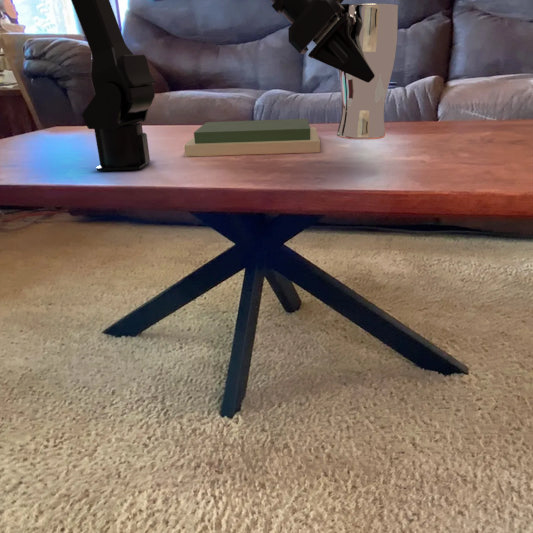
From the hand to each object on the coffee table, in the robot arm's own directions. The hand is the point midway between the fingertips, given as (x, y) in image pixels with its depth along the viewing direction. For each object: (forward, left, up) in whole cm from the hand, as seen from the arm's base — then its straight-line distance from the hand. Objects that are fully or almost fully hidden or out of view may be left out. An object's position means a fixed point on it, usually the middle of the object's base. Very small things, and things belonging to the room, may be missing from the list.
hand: (374, 77), depth 63 cm
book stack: (-17, +24, -12) cm, 32 cm away
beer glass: (-1, 0, -7) cm, 7 cm away
